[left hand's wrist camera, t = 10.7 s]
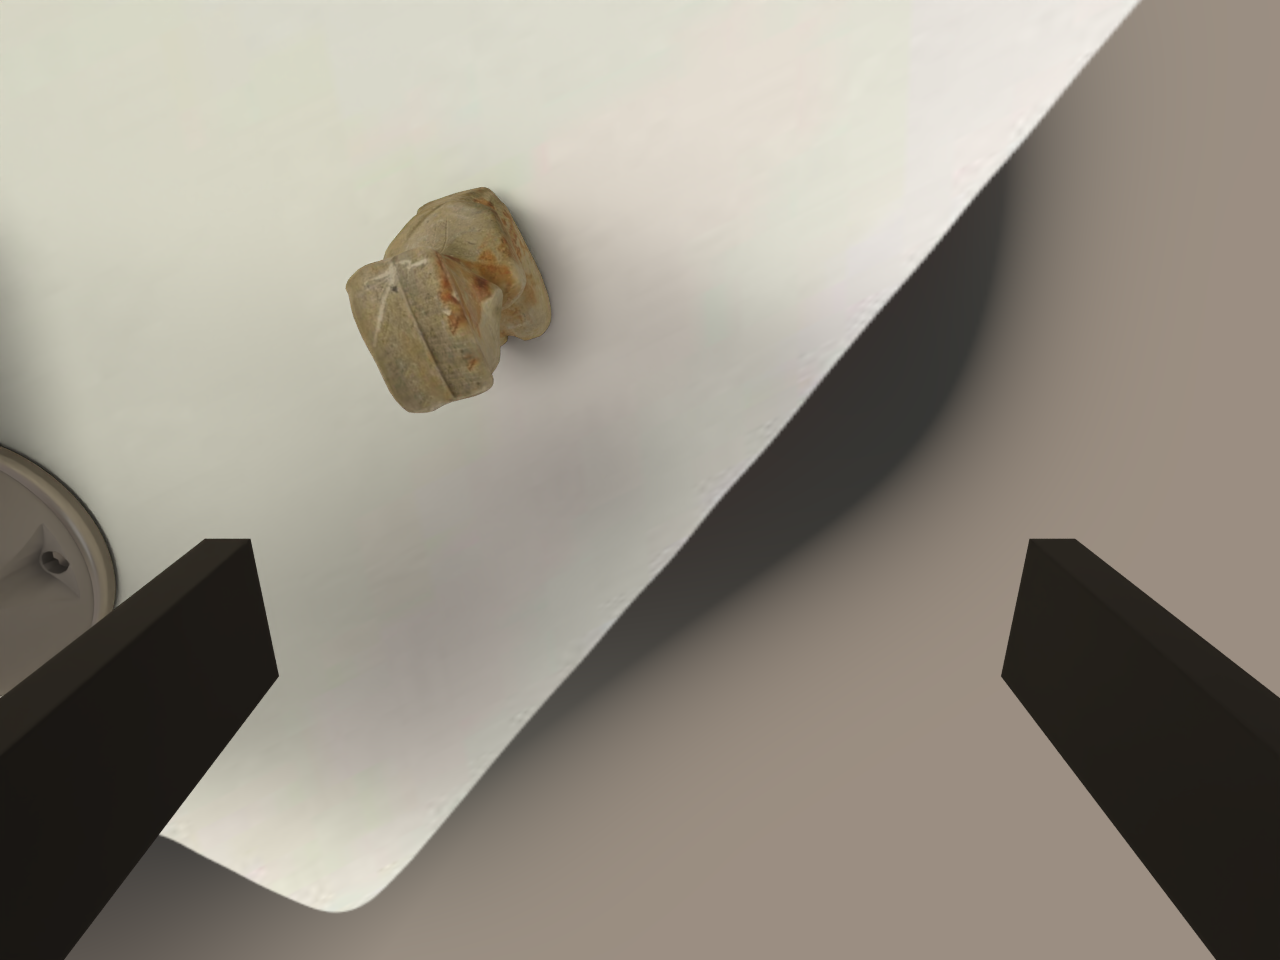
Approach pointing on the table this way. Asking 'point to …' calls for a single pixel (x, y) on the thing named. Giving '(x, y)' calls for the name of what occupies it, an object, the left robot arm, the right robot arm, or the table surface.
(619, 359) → the table surface
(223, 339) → the table surface
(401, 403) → the sculpture
